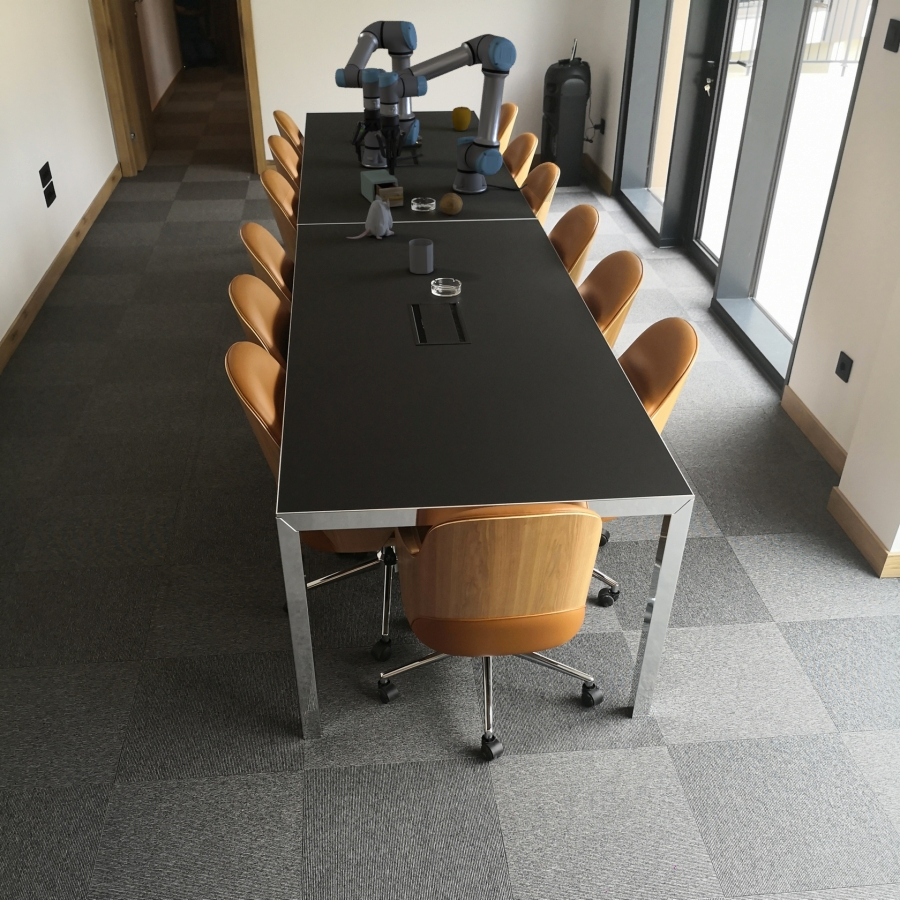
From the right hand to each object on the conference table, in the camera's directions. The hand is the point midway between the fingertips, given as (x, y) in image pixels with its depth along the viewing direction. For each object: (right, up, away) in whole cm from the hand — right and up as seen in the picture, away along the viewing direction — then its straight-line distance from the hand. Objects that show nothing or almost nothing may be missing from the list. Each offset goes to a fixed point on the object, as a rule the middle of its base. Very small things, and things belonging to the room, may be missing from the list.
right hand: (391, 174), depth 359 cm
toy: (-7, -33, -23) cm, 41 cm away
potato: (+25, -15, +4) cm, 29 cm away
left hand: (-9, +12, +18) cm, 24 cm away
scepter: (-13, +51, +108) cm, 120 cm away
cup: (+14, -50, -51) cm, 73 cm away
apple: (+31, +67, +132) cm, 151 cm away
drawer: (-2, -8, +13) cm, 16 cm away
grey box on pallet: (-7, -3, +23) cm, 24 cm away
